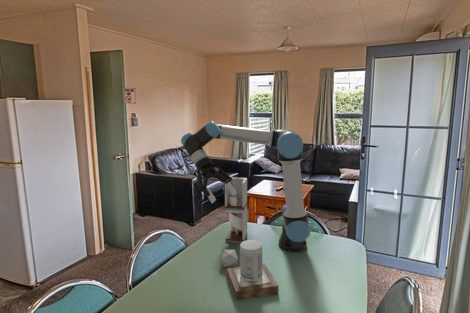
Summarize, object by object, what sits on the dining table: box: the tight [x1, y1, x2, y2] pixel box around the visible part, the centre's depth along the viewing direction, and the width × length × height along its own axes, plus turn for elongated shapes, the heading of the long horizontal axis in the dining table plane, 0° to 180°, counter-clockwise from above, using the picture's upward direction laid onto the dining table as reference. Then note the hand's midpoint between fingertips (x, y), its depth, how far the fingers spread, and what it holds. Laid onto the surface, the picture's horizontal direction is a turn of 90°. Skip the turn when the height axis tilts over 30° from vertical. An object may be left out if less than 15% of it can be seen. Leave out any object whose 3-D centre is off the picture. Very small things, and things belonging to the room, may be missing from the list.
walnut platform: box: [226, 263, 279, 301], centre depth 135 cm, size 18×18×4 cm
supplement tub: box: [239, 239, 263, 281], centre depth 133 cm, size 10×10×15 cm
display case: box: [224, 176, 248, 244], centre depth 178 cm, size 11×11×35 cm
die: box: [220, 249, 239, 268], centre depth 150 cm, size 8×9×10 cm
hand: (224, 198), depth 141 cm, fingers open, 13 cm apart
